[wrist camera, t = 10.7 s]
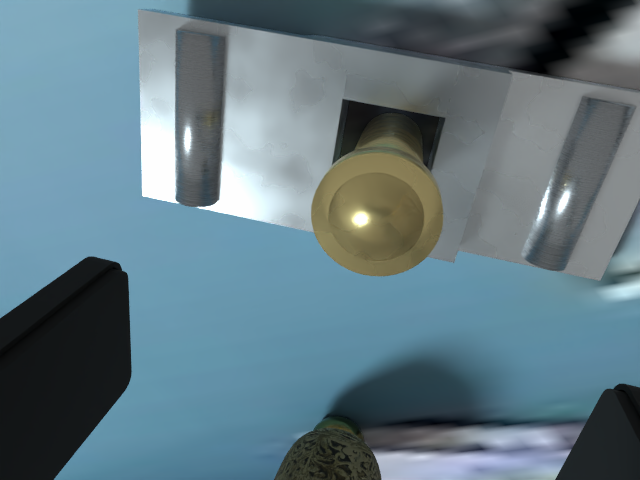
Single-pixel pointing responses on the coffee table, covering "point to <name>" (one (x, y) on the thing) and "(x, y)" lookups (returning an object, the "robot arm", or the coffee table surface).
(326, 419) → the cup
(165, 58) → the plate with square hole
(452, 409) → the coffee table surface
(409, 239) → the brass pin
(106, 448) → the coffee table surface
